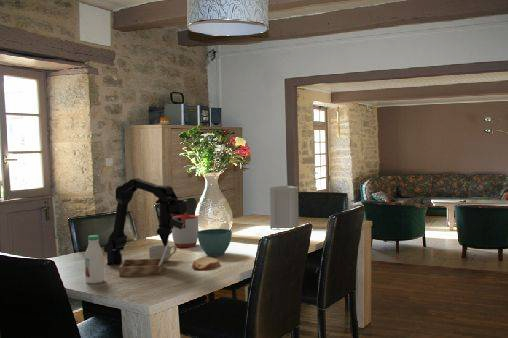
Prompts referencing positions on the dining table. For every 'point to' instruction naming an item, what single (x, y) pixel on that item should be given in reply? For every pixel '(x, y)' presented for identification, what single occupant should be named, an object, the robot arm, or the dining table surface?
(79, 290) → the dining table surface
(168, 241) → the grey flat panel
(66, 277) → the dining table surface
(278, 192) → the tall grey box
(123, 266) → the wooden tray
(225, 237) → the teal bowl
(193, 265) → the slice of bread
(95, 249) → the milk bottle
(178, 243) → the citrus juicer
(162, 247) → the teacup
